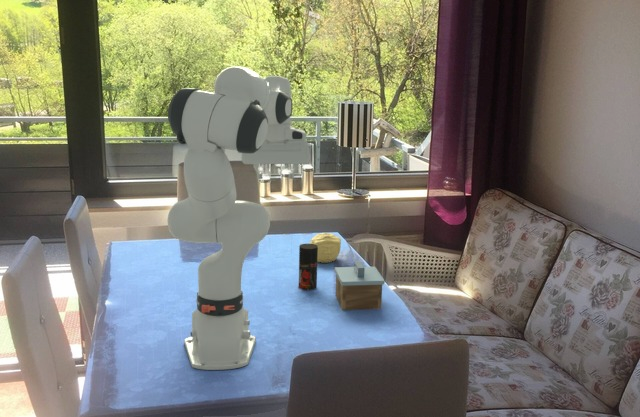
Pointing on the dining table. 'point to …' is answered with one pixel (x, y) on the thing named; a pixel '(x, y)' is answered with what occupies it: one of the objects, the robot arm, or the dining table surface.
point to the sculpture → (327, 247)
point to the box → (358, 296)
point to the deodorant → (308, 266)
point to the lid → (359, 275)
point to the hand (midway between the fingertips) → (275, 178)
